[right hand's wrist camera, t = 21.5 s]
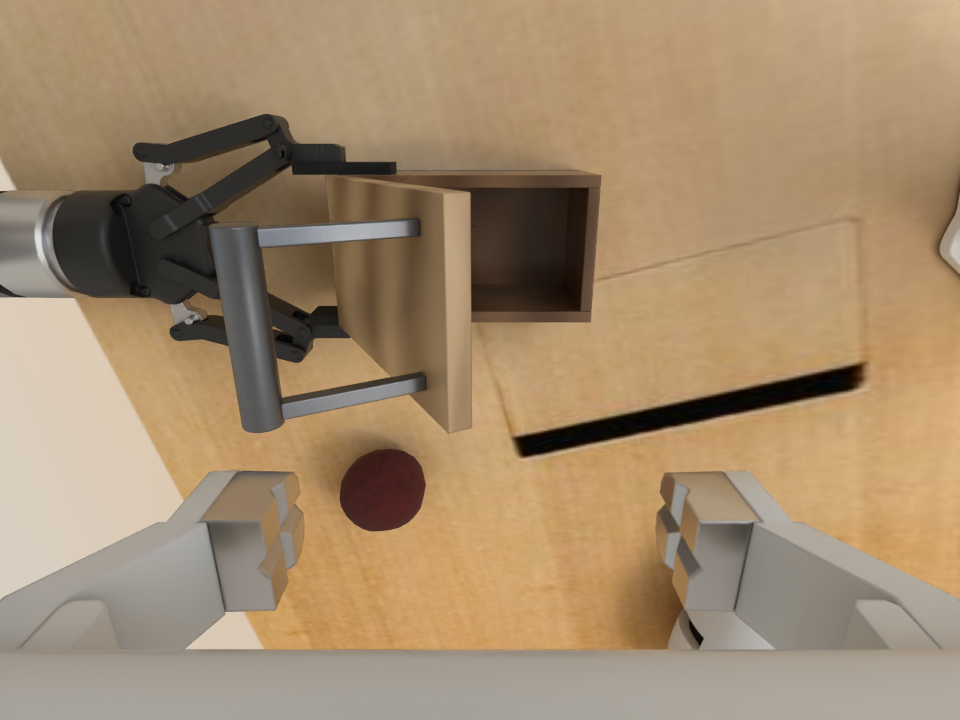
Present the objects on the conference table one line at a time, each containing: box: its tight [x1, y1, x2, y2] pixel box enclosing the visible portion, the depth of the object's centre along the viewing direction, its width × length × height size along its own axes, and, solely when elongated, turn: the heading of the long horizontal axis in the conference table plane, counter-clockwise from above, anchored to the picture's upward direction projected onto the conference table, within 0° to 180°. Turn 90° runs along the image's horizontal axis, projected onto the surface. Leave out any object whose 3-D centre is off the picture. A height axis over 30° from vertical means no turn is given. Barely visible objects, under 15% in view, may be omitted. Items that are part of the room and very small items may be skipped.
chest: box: [337, 170, 601, 322], centre depth 41 cm, size 17×10×9 cm, turn 90°
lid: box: [209, 175, 472, 433], centre depth 27 cm, size 18×10×9 cm
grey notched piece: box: [667, 608, 775, 649], centre depth 52 cm, size 22×23×15 cm
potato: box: [340, 449, 426, 531], centre depth 50 cm, size 7×8×7 cm
